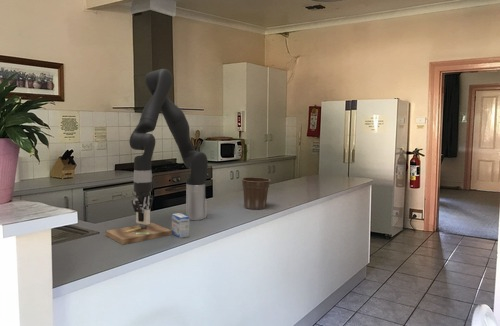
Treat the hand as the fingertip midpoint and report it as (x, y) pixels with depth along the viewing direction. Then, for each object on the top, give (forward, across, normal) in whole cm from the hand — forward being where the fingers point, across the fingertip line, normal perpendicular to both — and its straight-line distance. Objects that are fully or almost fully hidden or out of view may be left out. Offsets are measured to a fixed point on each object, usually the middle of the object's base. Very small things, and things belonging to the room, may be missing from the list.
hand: (143, 220), depth 178 cm
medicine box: (+6, -4, +16) cm, 17 cm away
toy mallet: (+3, +4, -1) cm, 5 cm away
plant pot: (+6, -69, +28) cm, 75 cm away
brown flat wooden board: (+6, +4, 0) cm, 7 cm away
